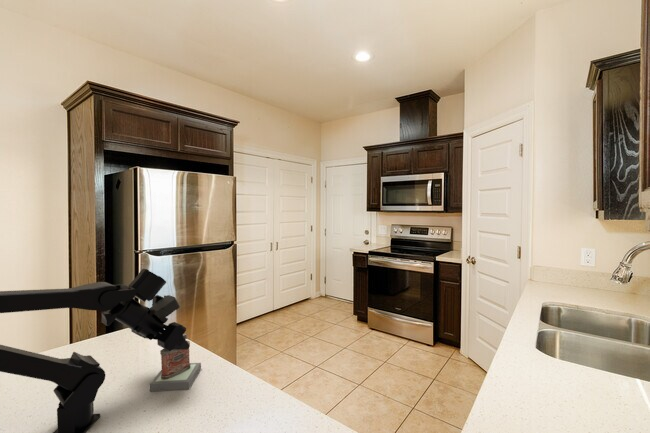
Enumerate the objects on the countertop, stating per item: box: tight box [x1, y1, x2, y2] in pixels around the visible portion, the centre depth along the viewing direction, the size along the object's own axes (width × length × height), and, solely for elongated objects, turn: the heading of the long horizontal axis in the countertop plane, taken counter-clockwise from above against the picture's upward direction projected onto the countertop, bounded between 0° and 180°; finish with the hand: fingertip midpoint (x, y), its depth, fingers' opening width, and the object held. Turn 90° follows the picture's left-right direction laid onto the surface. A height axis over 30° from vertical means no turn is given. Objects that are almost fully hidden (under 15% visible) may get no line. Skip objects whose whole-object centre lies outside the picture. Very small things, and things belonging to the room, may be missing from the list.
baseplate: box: [149, 362, 202, 392], centre depth 86 cm, size 10×10×2 cm
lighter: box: [159, 333, 191, 380], centre depth 86 cm, size 8×3×10 cm, turn 146°
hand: (179, 343), depth 86 cm, fingers open, 9 cm apart
